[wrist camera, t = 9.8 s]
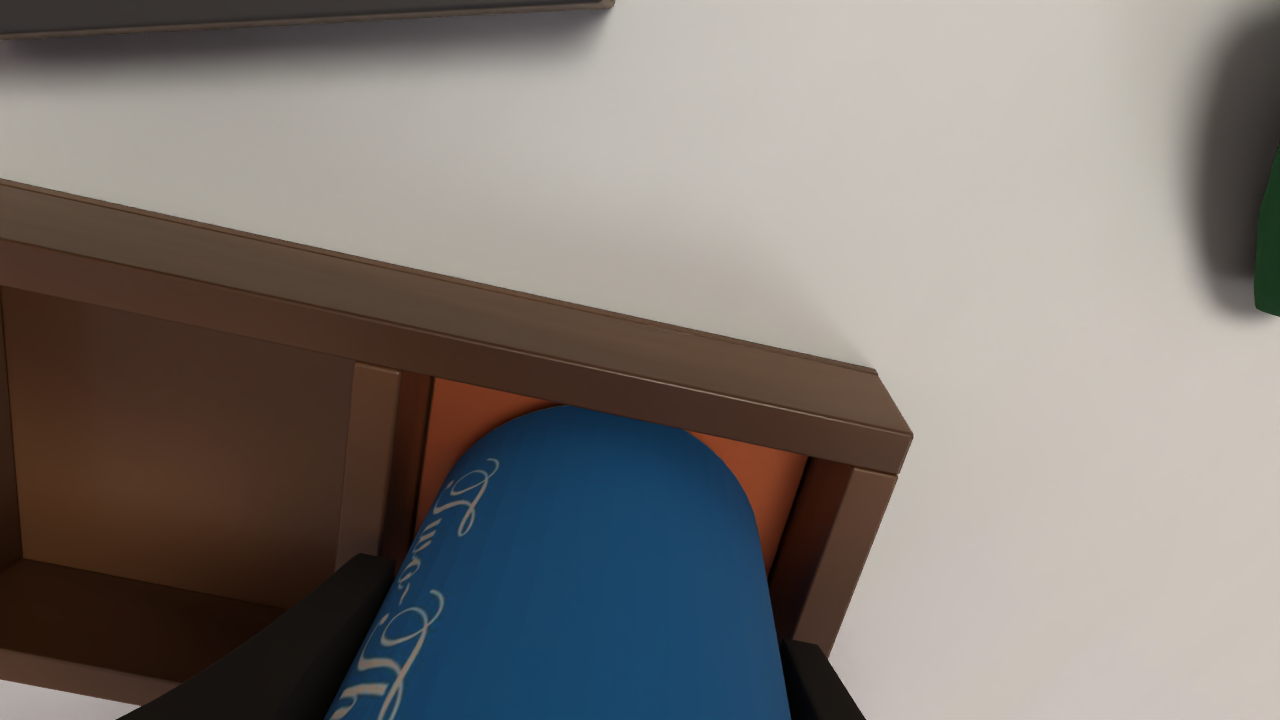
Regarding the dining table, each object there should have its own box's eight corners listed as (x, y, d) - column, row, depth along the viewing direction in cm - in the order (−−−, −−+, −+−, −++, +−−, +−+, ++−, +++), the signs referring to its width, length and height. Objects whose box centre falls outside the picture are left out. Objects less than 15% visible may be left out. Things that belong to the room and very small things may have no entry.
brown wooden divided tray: (751, 718, 19) (764, 825, 17) (-1, 570, 18) (-112, 660, 16) (875, 368, 16) (916, 434, 13) (-40, 169, 15) (-188, 198, 12)
